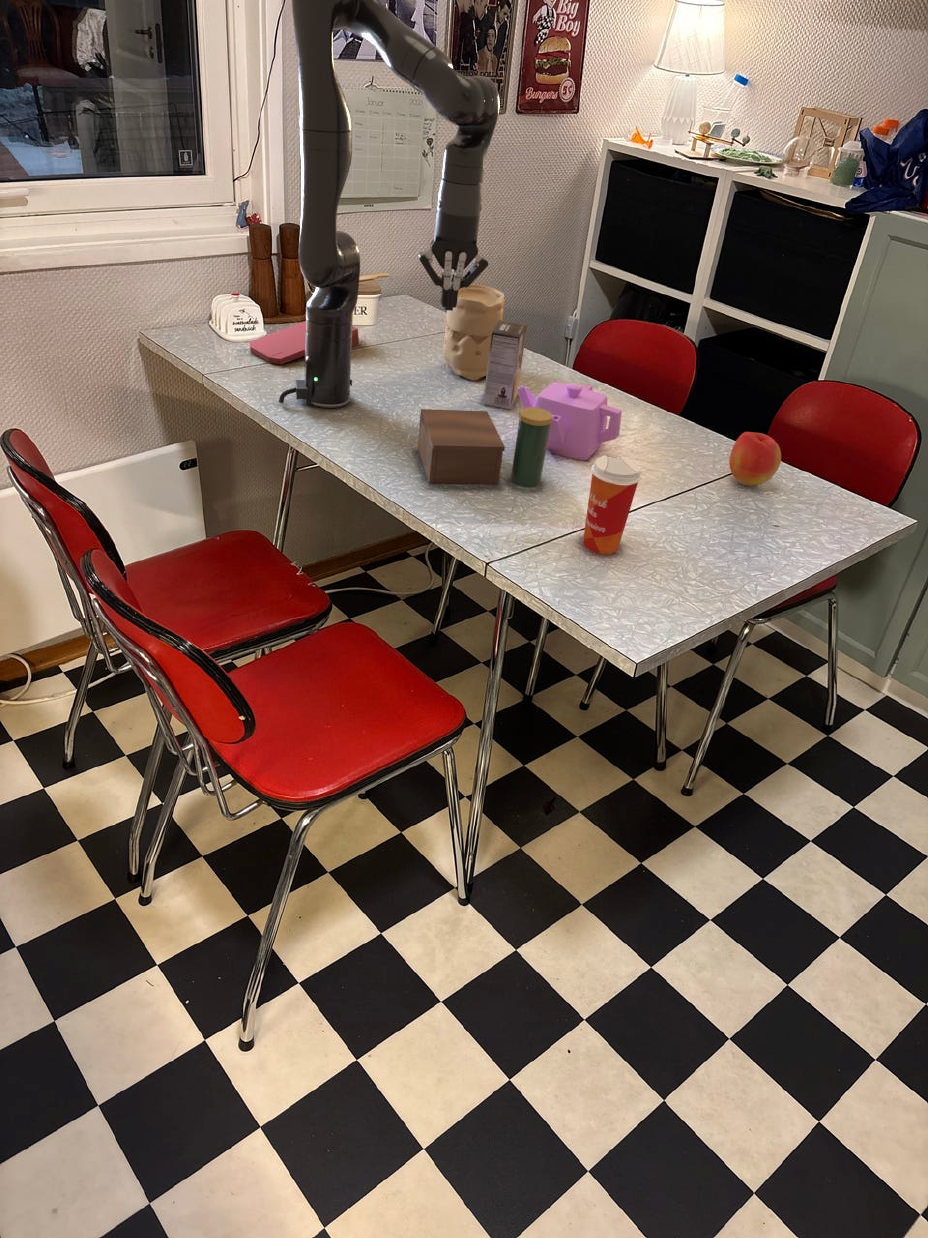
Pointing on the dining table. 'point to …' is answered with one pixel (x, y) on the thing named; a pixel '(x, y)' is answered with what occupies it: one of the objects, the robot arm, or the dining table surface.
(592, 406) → the teakettle
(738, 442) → the apple
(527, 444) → the tea tin
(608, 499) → the coffee cup
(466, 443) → the chest lid
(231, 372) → the dining table surface
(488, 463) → the chest
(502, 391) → the coffee box
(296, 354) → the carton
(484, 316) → the container
